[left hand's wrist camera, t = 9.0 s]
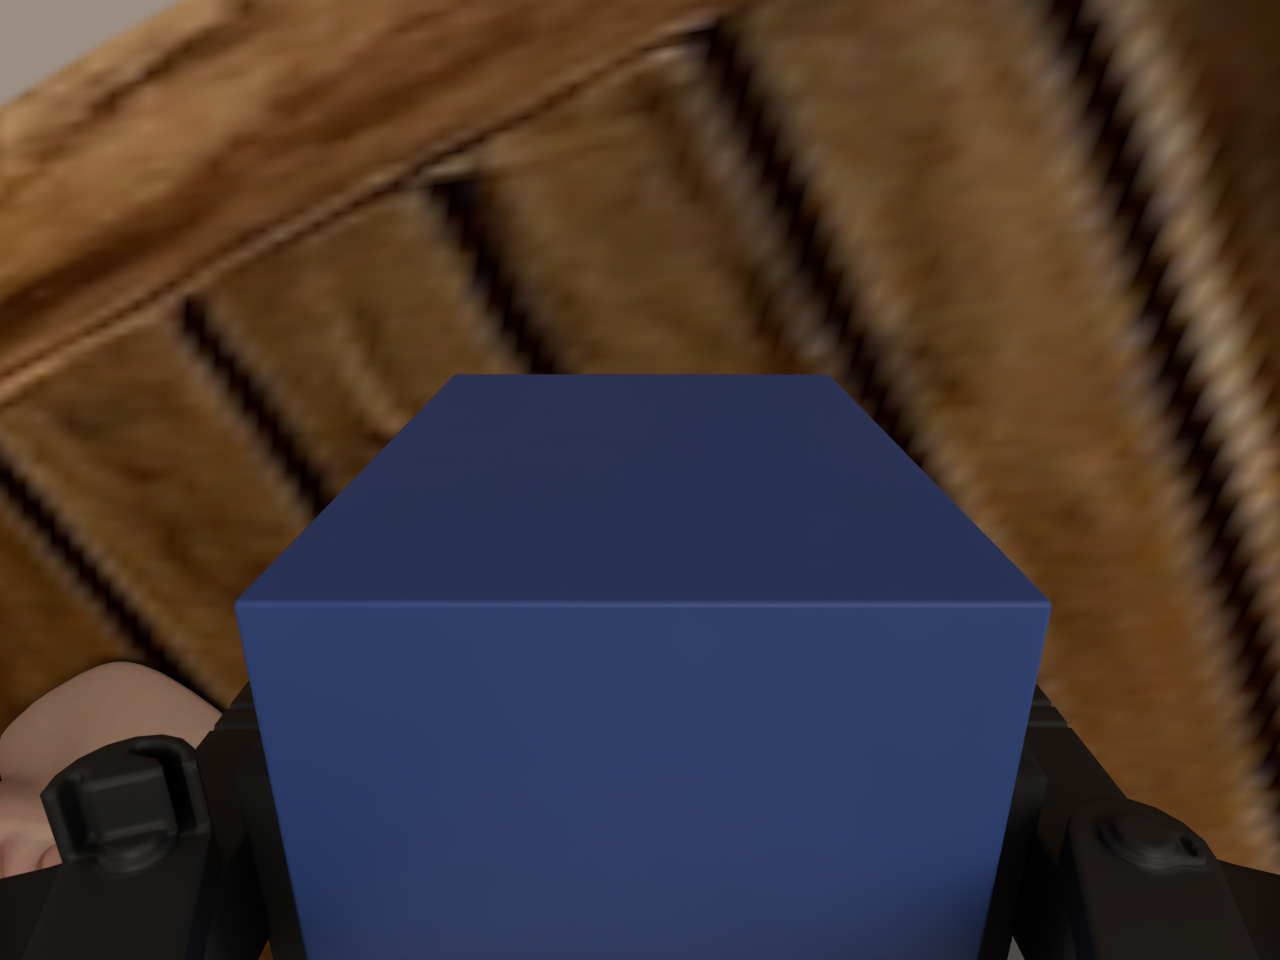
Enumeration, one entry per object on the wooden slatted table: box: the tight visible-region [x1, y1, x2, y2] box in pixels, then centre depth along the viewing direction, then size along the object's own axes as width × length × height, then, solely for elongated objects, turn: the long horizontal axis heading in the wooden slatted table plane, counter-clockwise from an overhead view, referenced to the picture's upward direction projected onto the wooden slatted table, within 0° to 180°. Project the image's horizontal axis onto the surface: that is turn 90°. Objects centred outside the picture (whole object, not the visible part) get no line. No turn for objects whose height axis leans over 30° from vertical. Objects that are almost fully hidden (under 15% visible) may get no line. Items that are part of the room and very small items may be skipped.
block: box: [235, 375, 1052, 960], centre depth 11 cm, size 7×7×8 cm
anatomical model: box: [0, 662, 223, 879], centre depth 28 cm, size 13×4×12 cm
